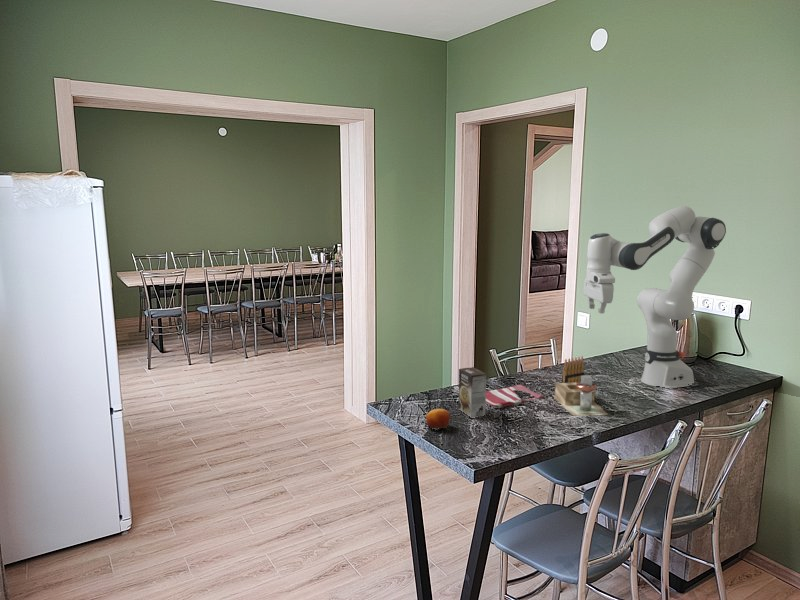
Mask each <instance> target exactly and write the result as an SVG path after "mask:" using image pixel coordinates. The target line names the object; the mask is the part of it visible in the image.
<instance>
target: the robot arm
mask: <svg viewBox="0 0 800 600" xmlns="http://www.w3.org/2000/svg"><path fill="white" fill-rule="evenodd" d="M648 234H649V238H646V239H645V240H643V241H642V242H625V241H624V242H623V241H621V240H618V239H615V238H614V237H612V236H611V234H609V233H604V232H603V233H597V234H593V235H591V236H590V237H589V239H588V243H587V249H586V259H587V265H586V271H585V272H586V273H585V278H584V280H583V291H582V293H583V295H584V296H585V297H587V302H588V308H589V309H591V310H594V309H595V307H596V305H595V301H597V302H599V305H600V306H599V308H598V314H605V312H606V311H605V309H606V307H607V304H612V303H613V301H614V300H613V299H614V292H615V290H614V289H615V287H614V284H615V283H616V278H615V277H614V275H613V274H612V271H611V266H612V267H613V266H615V267H617V268H625V269H627V270H631V271H637V270H640V269H642V268H643V267H644V266H645V265H646V264H647V263H648V261H649V260H650V259H651V258H652V257H653V256H655V255H656V254H658V253H659V252H660V251H662V250H663V249H664V248H665V247H667V246H668V245H670V244H671V243H672V242H673V240H674V239H675V240H677V241H679V242H681V243H688V247H687V248H686V249H687V250H686V251H685V252H684V253H683V255H682V256H681V257H680V258H679V259H678V261H677V262H676V264H675V265H674V267H672V268H671V271H670V272H669V273H668V274H669V275H668V278H669V281H670V282H671V283H670V285H669V287H668V289H661V288H657V287H656V288H654V287H653V288H645V289H643V290H641V291H640V292H639V294H638V295H637V299H636V303H637V304H636V305H638V308H639V309H640V311H641V312H642V314H643V317H644V319H645V323H646V327H647V328H646V330H647V343H646V348H645V354H644V362H645V363H644V367H643V372H642V375H641V378H640V381H641V383H643V384H645V385H648V386H652V387H656V386H660V387H659V388H662V387H665V388H664V389H666V388H677V387H684V386H689V385H692V383H694V379H695V377H694V372H693V369H692V368H691V367H690V366H688V365H687V364H686V363H685V362H683V361H682V359H683V358H685V357H686V353H684V352H682V351H678V350H677V341H678V340H677V339H678V332H677V330H676V328H675V327H674V326H673V324H672V322H671V320H673V321H684V320H685V321H686V320H688V319H689V318H690V317H691V316H692V315H693V313H694V311H695V303H694V300H693V293H694V290H695V288H696V286H697V285H698V283H700V280H701V279H702V278H703V276H704V275H705V273H707V271H708V270H709V267H710V266H711V264H712V262H713V260H714V258H715V254H716V252H715V249H716V248H717V247H718V246H719V245H720V243H722V241H723V240H724V238H725V235H726V234H727V229H726V224H725V222H724V221H723V220H722V219H719V218H717V217H716V218H715V217H707V216H696V213H695V211H694V210H693V209H692V208H691V207H689V206H687V205H679V206H677V207H676V206H675V207H673V208H671V209H669V210H667V211H664V212H662V213H660V214H658V215H657V216H656V217H654V218H653V219H652V220H651V221H649V224H648ZM680 358H682V359H680ZM688 384H689V385H688Z"/></svg>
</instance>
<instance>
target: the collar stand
mask: <svg viewBox="0 0 800 600" xmlns="http://www.w3.org/2000/svg"><path fill="white" fill-rule="evenodd" d="M577 383H578V382H577ZM595 391H596V390H593V391H592V407H591V411H583V410H580V390H579V389H577V388H576V383H562V382H556V383H555V391H554V394H552V397H554V399H555V400H556V401H557V402H558V403H559V404H561V406H562V407H563V408H564V409H565V410H566V411H567V412H568V413H569V414H570V415H572V416H573V417H576V416H577V417H579V416H602V415H603V416H604V415H605V416H608V415H609V413H607V412H606V411H605V410H604V409H603V408H602V407H601V406H600V405H599V404H597V403H596V402H595V395H596V392H595Z"/></svg>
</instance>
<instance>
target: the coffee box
mask: <svg viewBox="0 0 800 600" xmlns="http://www.w3.org/2000/svg"><path fill="white" fill-rule="evenodd" d="M486 391H487V373H486V372H484V371H482V370H481V369H477V368H476V367H463V368H458V410H459V409H460V410H461V411H462V412H464V413H465V414H467V415H468V416H470V417H476V416H483V415H485V416H486V406H487V405H486Z"/></svg>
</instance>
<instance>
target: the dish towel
mask: <svg viewBox="0 0 800 600" xmlns="http://www.w3.org/2000/svg"><path fill="white" fill-rule="evenodd" d="M515 391H519V392H525V393H528V394H530V395H531V396H533V398H528V399H527V398H526V399H521V398H520V397H519V395H518V394H517V393H516V392H515ZM544 397H545V396H544V395H543V394H539V393H537V392H534V391H532V390H530V389H529V388H527V387H526V386H524V385H522V384H516V385H514V386H510V387H505V388H504V387H503V388H498V389H494V390H486V403H487V404H488V405H491V406H492V407H494V408H501V409H503V408H502V407H506V406H512V405H516V406H518V405H517V404H522V403H524V402H528V401H529V402H530V401H536V400H540V399H544ZM522 405H523V404H522ZM512 407H513V406H512Z"/></svg>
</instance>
